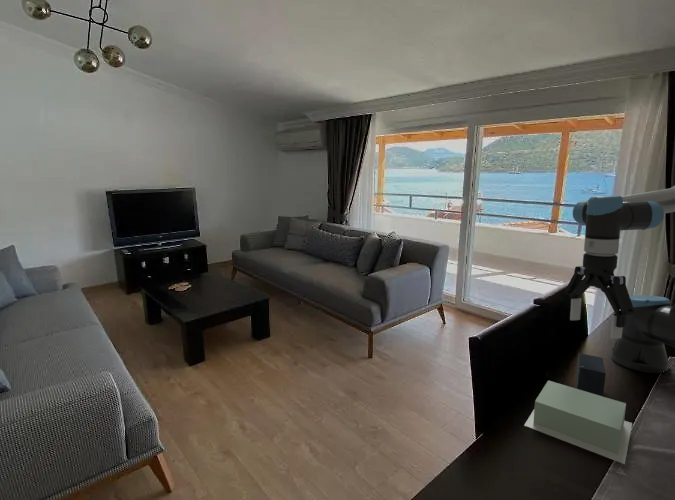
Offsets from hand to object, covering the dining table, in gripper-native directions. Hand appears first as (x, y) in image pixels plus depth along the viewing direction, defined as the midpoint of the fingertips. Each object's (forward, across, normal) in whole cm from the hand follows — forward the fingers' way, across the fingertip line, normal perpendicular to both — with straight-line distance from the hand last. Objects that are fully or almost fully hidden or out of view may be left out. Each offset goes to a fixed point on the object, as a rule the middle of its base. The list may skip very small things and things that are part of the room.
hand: (593, 328), depth 102 cm
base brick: (+19, +12, -14) cm, 27 cm away
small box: (+21, 0, 0) cm, 21 cm away
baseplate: (+20, +12, -14) cm, 27 cm away
